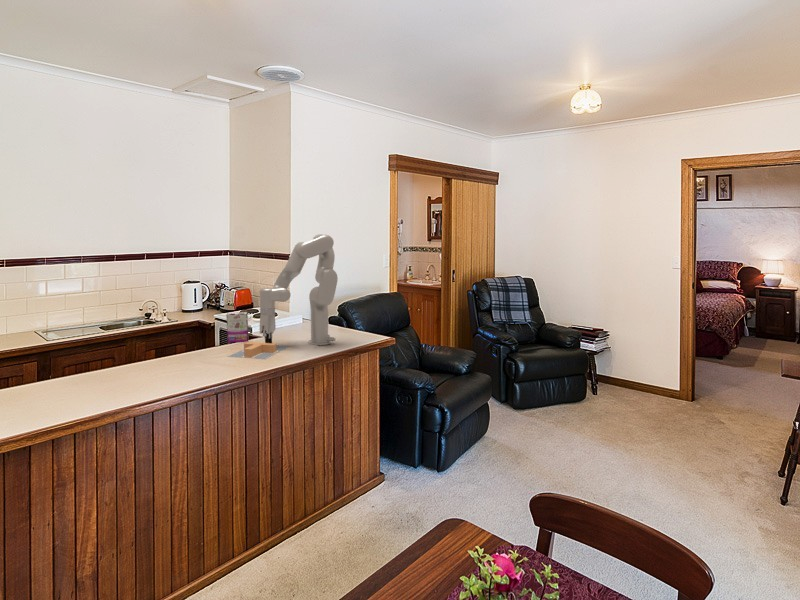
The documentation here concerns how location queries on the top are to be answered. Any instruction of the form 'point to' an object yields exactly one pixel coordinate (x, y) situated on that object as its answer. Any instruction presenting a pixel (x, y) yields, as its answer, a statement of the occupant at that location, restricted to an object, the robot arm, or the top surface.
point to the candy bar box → (237, 327)
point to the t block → (258, 348)
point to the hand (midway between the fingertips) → (268, 345)
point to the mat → (261, 355)
